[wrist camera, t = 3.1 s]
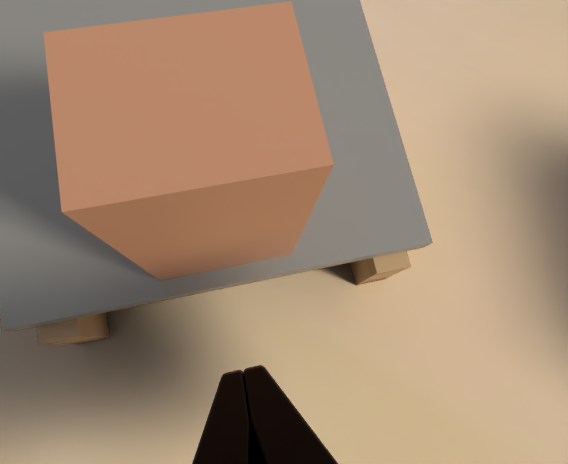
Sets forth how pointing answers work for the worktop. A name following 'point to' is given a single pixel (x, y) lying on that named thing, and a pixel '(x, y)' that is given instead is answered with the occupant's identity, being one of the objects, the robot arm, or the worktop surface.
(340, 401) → the worktop surface
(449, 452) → the worktop surface
